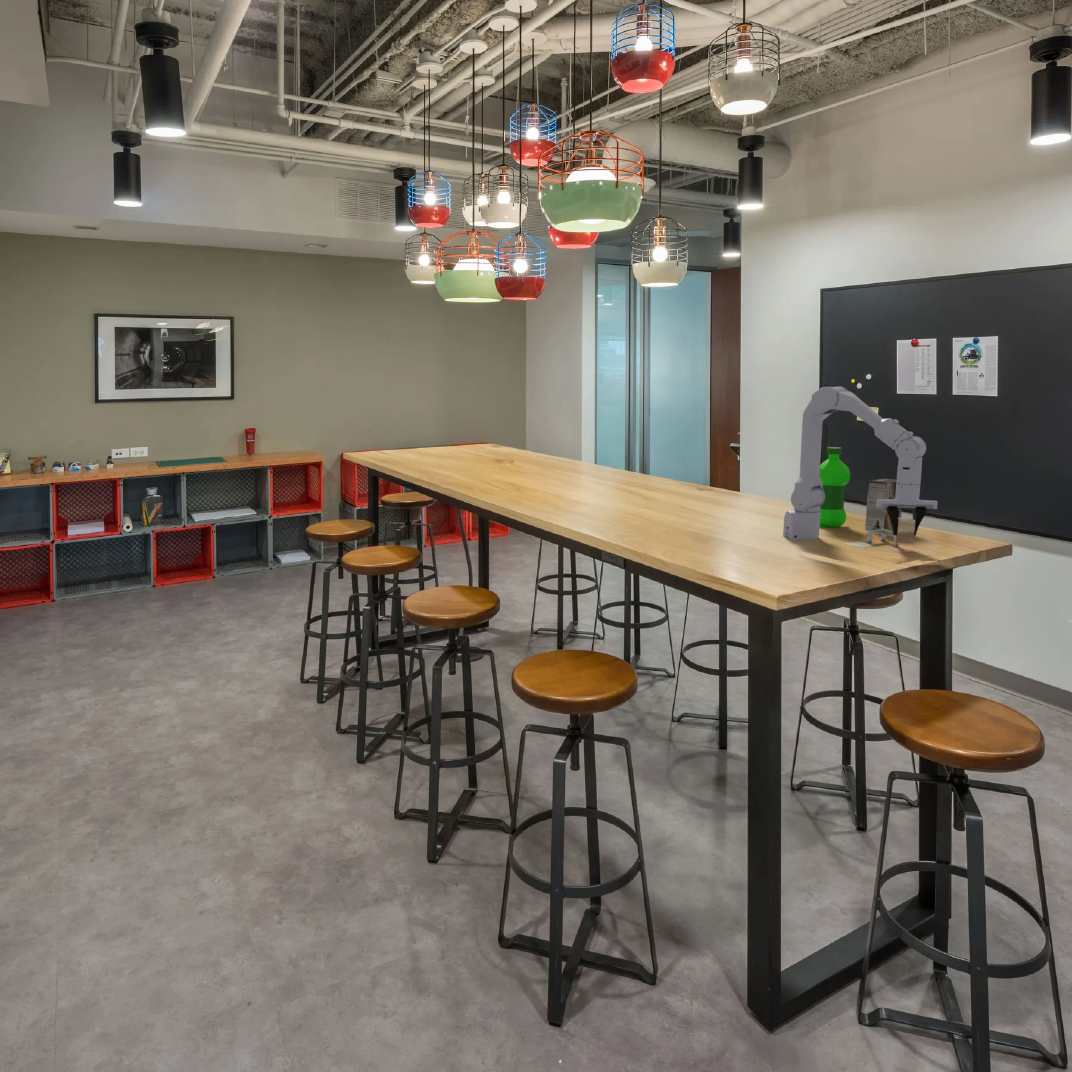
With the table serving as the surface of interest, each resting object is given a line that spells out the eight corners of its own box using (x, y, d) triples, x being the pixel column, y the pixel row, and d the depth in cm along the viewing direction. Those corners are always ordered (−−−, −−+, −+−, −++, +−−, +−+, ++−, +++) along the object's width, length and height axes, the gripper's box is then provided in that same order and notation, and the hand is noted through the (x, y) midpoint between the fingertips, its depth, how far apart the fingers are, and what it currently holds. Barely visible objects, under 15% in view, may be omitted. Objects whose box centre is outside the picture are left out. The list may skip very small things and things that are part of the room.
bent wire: (878, 548, 219) (879, 535, 218) (861, 541, 228) (862, 529, 227) (902, 547, 219) (903, 534, 219) (884, 540, 229) (885, 528, 228)
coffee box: (880, 530, 251) (885, 478, 248) (900, 533, 246) (905, 480, 243) (863, 533, 245) (867, 480, 242) (883, 536, 240) (887, 482, 237)
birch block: (913, 543, 213) (915, 520, 212) (897, 542, 214) (898, 520, 213) (909, 540, 217) (911, 518, 216) (893, 539, 218) (895, 517, 217)
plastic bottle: (851, 531, 249) (857, 449, 244) (817, 531, 249) (822, 449, 245) (840, 525, 259) (845, 446, 254) (807, 525, 259) (811, 446, 254)
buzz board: (865, 558, 212) (866, 553, 211) (833, 543, 230) (833, 539, 229) (924, 556, 213) (924, 552, 213) (887, 542, 231) (887, 538, 231)
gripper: (934, 482, 215) (929, 533, 218) (875, 481, 218) (872, 531, 221) (941, 485, 208) (936, 538, 211) (880, 484, 211) (877, 536, 214)
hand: (904, 534), depth 215 cm, fingers closed on birch block, 4 cm apart
